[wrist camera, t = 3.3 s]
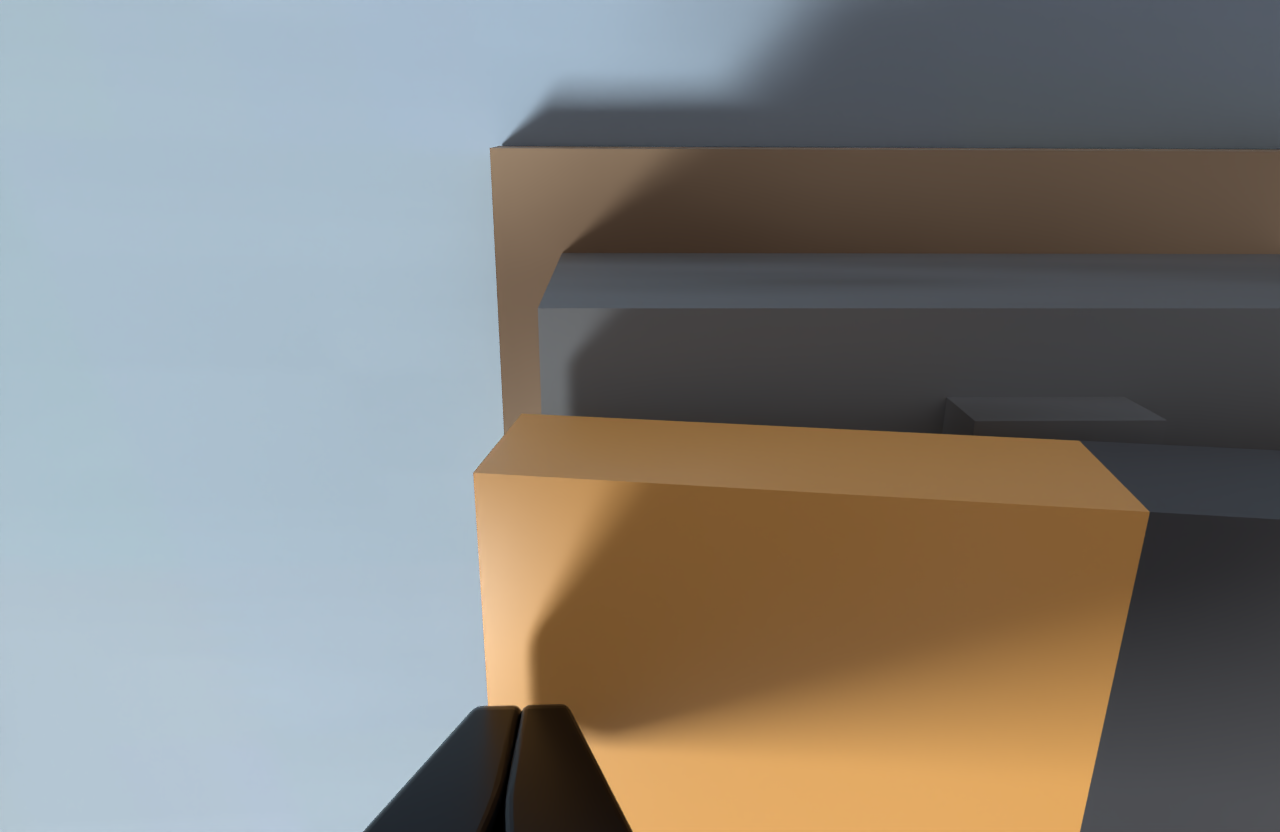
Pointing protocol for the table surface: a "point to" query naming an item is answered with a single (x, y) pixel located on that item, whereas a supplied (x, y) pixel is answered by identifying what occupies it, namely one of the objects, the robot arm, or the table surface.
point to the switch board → (849, 206)
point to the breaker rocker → (891, 624)
